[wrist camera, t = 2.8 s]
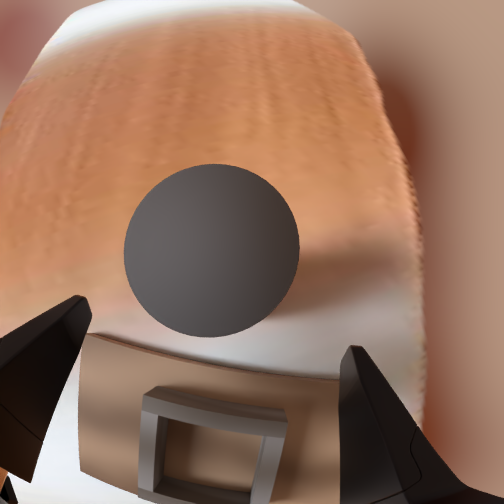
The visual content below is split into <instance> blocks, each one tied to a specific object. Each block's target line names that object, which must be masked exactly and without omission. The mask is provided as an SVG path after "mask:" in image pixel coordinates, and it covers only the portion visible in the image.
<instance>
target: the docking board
mask: <svg viewBox="0 0 504 504" xmlns="http://www.w3.org/2000/svg"><path fill="white" fill-rule="evenodd" d="M339 383H340V380H332V379H318V378H306V377H296V376H286V375H278V374H270V373H262V372H255V371H249V370H242V369H236V368H230V367H224V366H219V365H213V364H208V363H203V362H198V361H194V360H189V359H184V358H180V357H175V356H171V355H167V354H163V353H159V352H155V351H151V350H147V349H143V348H140V347H136V346H133V345H129V344H126V343H122V342H119V341H115V340H112V339H109V338H106V337H103V336H99V335H96V334H93V333H86V335H85V338H84V341H83V344H82V352H81V362H80V376H79V396H78V439H79V458H80V471H82V472H84V473H86V474H88V475H90V476H92V477H94V478H96V479H99V480H101V481H103V482H105V483H108V484H110V485H113V486H115V487H118V488H120V489H123V490H125V491H128V492H131V493H133V494H136V495H138V497H139V498H142V499H145V500H148V501H151V502H154V503H157V504H340V442H339V416H338V400H339Z"/></svg>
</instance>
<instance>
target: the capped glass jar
mask: <svg viewBox="0 0 504 504" xmlns="http://www.w3.org/2000/svg"><path fill="white" fill-rule="evenodd" d="M299 249H300V246H299V234H298V230H297V225H296V222H295V219H294V216H293V214H292V212H291V210H290V208H289V206H288V204H287V203H286V201H285V200H284V198H283V197H282V196H281V194H280V193H279V192H278V191H277V190H276V189H275V188H274V187H273V186H272V185H271V184H269V183H268V182H267V181H266V180H264V179H263V178H261V177H260V176H258V175H256V174H254V173H252V172H250V171H248V170H245V169H242V168H239V167H236V166H230V165H223V164H206V165H199V166H194V167H191V168H187V169H184V170H182V171H179V172H177V173H175V174H173V175H171V176H169V177H168V178H166V179H164V180H163V181H162V182H160V183H159V184H158V185H156V186H155V187H154V188H153V189H152V190H151V191H150V192H149V193H148V194H147V195H146V196H145V198H144V199H143V200H142V201H141V203H140V204H139V206H138V207H137V209H136V210H135V212H134V214H133V216H132V218H131V221H130V223H129V226H128V229H127V233H126V238H125V244H124V264H125V270H126V275H127V278H128V281H129V284H130V287H131V289H132V291H133V293H134V295H135V296H136V298H137V300H138V301H139V303H140V304H141V305H142V306H143V308H144V309H145V310H146V311H147V312H148V313H149V314H150V315H151V316H152V317H153V318H155V319H156V320H157V321H158V322H160V323H161V324H163V325H165V326H166V327H168V328H170V329H172V330H174V331H177V332H179V333H183V334H186V335H190V336H196V337H221V336H227V335H231V334H234V333H238V332H240V331H243V330H245V329H247V328H250V327H251V326H253V325H255V324H256V323H258V322H260V321H261V320H262V319H264V318H265V317H266V316H267V315H269V314H270V313H271V312H272V311H273V310H274V309H275V308H276V307H277V306H278V305H279V303H280V302H281V301H282V299H283V298H284V296H285V295H286V293H287V292H288V290H289V288H290V286H291V284H292V282H293V279H294V276H295V273H296V270H297V265H298V261H299Z"/></svg>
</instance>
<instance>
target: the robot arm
mask: <svg viewBox="0 0 504 504" xmlns="http://www.w3.org/2000/svg"><path fill="white" fill-rule="evenodd" d="M91 319H92V312H91V309H90V306H89V304H88V301H87V299H86V297H84V296H80V295H75V296H73V297H71V298H69V299H67V300H65V301H64V302H62V303H60V304H58V305H56V306H55V307H53V308H51V309H49V310H48V311H46V312H44V313H42V314H41V315H39V316H37V317H35V318H34V319H32V320H30V321H29V322H27V323H25V324H23V325H22V326H20V327H18V328H17V329H15V330H13V331H12V332H10V333H8V334H7V335H5V336H3V338H0V504H18V501H17V498H16V495H15V493H14V490H13V487H12V484H11V481H10V478H9V476H7V474H8V472H10V473H12V474H13V475H15V476H17V477H19V478H21V479H23V480H25V481H27V482H29V483H31V481H32V478H33V474H34V470H35V467H36V464H37V460H38V457H39V454H40V451H41V448H42V444H43V441H44V438H45V435H46V432H47V429H48V427H49V424H50V421H51V419H52V416H53V413H54V411H55V408H56V405H57V403H58V400H59V398H60V396H61V393H62V391H63V388H64V386H65V384H66V381H67V379H68V377H69V374H70V372H71V370H72V368H73V365H74V363H75V361H76V359H77V357H78V354H79V352H80V349H81V347H82V344H83V341H84V338H85V335H86V333H87V330H88V327H89V325H90V322H91ZM338 416H339V442H340V504H504V498H501V497H497V496H495V495H491V494H488V493H485V492H482V491H479V490H476V489H473V488H471V487H468V486H467V485H465V484H464V483H462V482H461V481H460V480H459V479H458V478H457V477H456V475H455V474H454V473H453V472H452V471H451V469H450V468H449V467H448V466H447V464H446V463H445V462H444V461H443V460H442V458H441V457H440V456H439V455H438V454H437V452H436V451H435V450H434V448H433V447H432V446H431V444H430V443H429V441H428V440H427V439H426V437H425V436H424V434H423V433H422V431H421V430H420V428H419V427H418V426H417V424H416V422H415V421H414V420H413V418H412V417H411V415H410V414H409V412H408V411H407V409H406V408H405V406H404V405H403V403H402V402H401V400H400V399H399V397H398V396H397V395H396V393H395V392H394V390H393V389H392V387H391V386H390V384H389V383H388V382H387V380H386V379H385V377H384V376H383V374H382V373H381V372H380V370H379V369H378V367H377V366H376V365H375V363H374V362H373V360H372V359H371V358H370V356H369V355H368V353H367V352H366V351H365V349H364V348H363V347H362V346H357V345H350V346H349V347H348V349H347V351H346V353H345V355H344V357H343V358H342V361H341V364H340V383H339V400H338Z"/></svg>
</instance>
